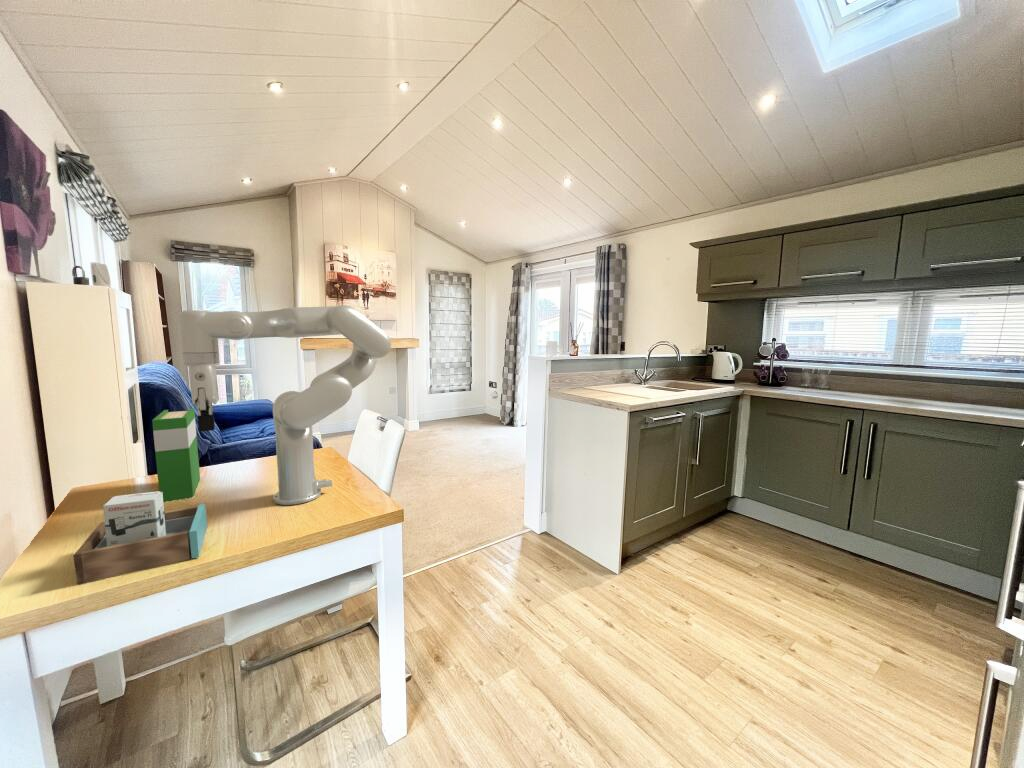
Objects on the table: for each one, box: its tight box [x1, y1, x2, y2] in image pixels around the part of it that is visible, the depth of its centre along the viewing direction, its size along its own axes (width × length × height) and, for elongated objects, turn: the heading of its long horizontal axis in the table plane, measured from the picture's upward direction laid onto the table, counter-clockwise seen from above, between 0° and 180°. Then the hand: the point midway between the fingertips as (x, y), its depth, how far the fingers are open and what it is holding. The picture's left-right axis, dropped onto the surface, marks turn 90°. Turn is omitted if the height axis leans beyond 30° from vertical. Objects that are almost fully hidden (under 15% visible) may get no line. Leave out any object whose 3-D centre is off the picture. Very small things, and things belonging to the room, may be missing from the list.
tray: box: [95, 502, 208, 559], centre depth 88 cm, size 17×16×6 cm
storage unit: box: [73, 506, 198, 585], centre depth 87 cm, size 17×16×6 cm
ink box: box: [102, 490, 166, 547], centre depth 86 cm, size 9×5×12 cm, turn 116°
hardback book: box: [151, 407, 201, 503], centre depth 122 cm, size 18×7×24 cm, turn 32°
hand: (206, 430), depth 104 cm, fingers closed
